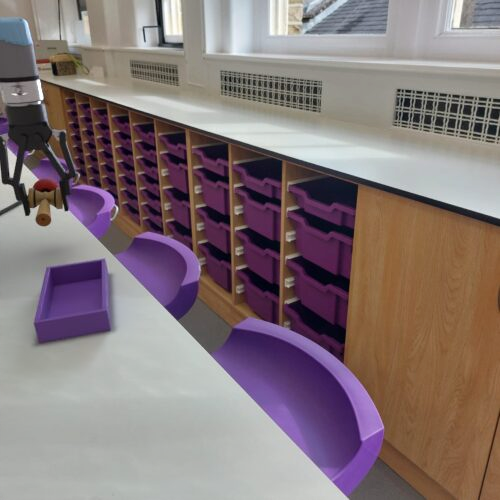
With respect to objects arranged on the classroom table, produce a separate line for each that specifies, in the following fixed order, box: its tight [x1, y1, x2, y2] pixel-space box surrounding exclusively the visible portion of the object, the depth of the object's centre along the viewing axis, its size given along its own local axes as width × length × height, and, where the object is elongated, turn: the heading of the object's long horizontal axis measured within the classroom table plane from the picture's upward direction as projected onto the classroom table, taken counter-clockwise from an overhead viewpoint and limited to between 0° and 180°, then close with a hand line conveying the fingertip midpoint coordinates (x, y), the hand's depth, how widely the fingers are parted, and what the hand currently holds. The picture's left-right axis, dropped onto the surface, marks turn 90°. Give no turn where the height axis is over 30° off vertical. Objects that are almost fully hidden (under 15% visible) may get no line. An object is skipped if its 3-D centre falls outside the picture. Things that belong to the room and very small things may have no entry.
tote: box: [33, 258, 112, 344], centre depth 91 cm, size 22×12×5 cm, turn 16°
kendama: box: [27, 177, 64, 227], centre depth 106 cm, size 8×6×18 cm
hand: (47, 211), depth 106 cm, fingers closed on kendama, 7 cm apart
